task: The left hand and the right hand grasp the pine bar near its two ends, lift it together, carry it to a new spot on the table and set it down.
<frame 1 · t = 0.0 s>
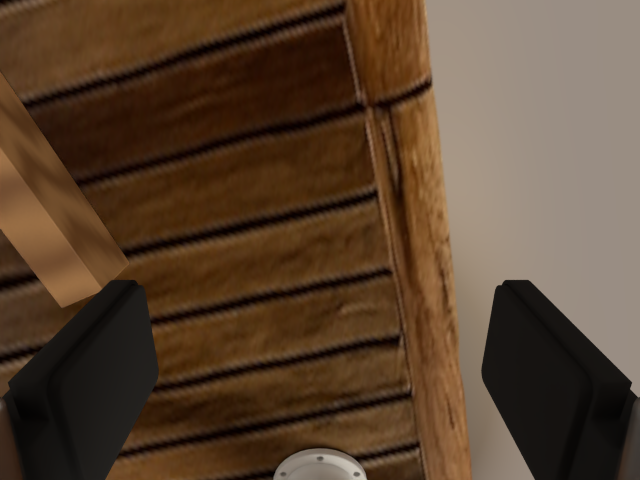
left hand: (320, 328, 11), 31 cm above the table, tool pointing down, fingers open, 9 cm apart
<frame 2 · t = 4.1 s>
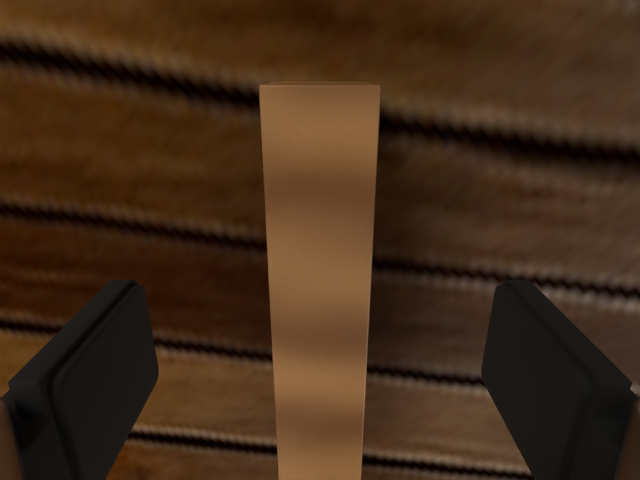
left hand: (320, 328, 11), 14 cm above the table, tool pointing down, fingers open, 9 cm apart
bar: (320, 444, 31), on the table, touching right hand
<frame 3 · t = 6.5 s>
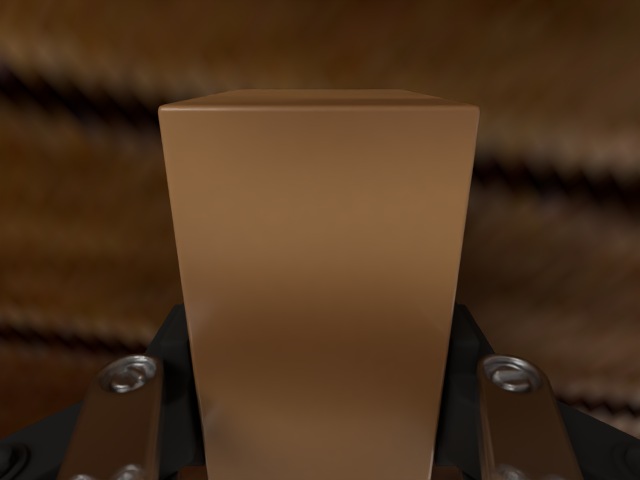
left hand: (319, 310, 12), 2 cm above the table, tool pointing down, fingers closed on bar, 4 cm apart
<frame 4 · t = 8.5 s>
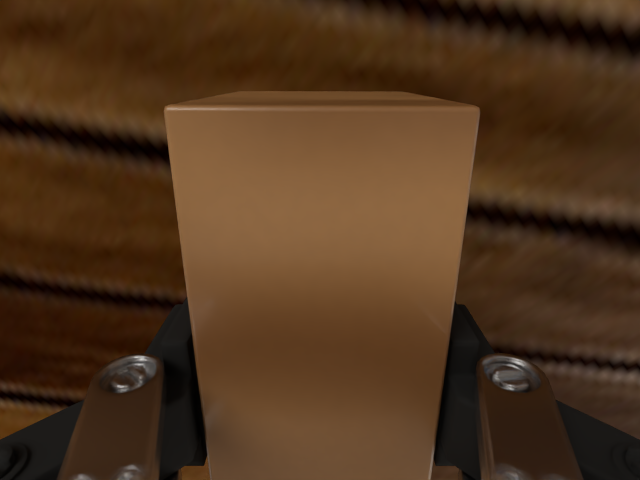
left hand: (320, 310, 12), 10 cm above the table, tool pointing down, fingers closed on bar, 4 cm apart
when the left hand's fingers open (3 cm above the table, at t = 10.7 s): bar drops 1 cm, on the table.
when the right hand's fingers open (4 cm above the table, at t = 10.8 s): bar stays where it is, on the table.
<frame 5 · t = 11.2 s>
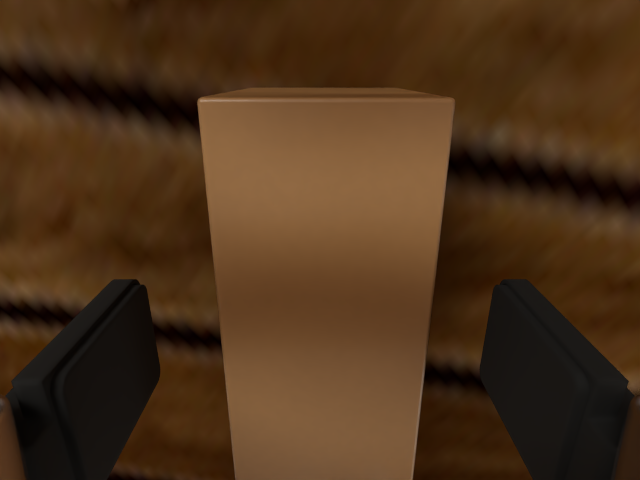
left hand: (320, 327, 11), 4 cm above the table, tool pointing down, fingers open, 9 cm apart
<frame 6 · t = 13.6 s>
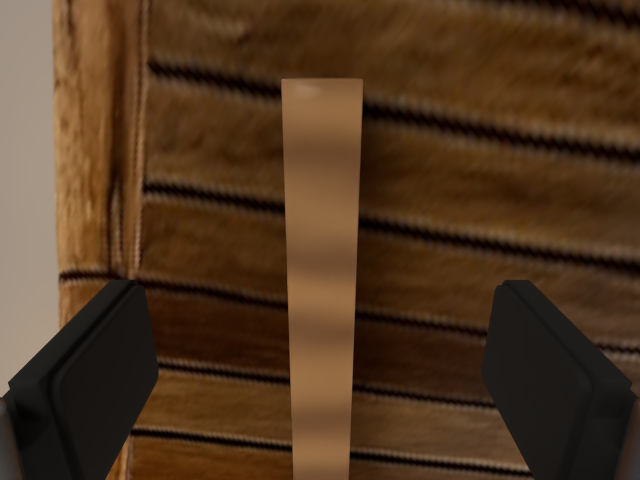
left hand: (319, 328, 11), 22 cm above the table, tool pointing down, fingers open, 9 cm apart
bar: (321, 368, 39), on the table
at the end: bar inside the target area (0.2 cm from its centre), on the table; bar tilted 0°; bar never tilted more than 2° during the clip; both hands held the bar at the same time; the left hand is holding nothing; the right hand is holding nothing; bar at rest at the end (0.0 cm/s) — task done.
